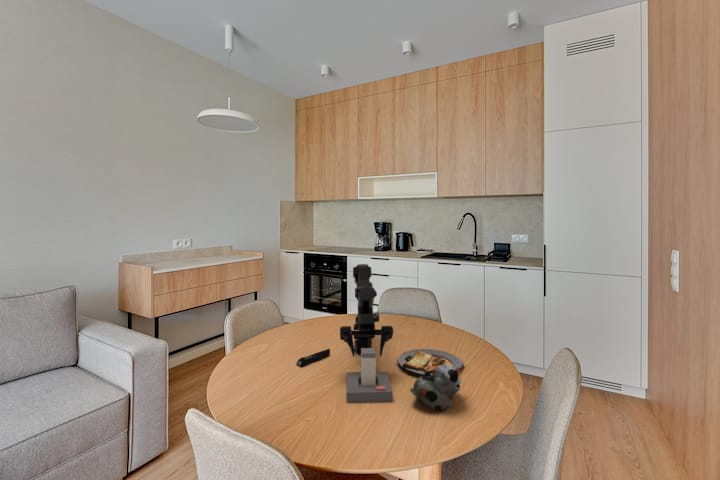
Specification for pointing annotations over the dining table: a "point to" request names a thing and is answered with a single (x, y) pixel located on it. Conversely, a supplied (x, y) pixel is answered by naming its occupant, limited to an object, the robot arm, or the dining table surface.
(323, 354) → the electric trimmer
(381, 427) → the dining table surface
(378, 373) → the grey slotted slab
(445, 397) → the lucky cat figurine
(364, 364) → the grey rectangular block
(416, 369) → the food plate
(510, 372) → the dining table surface
